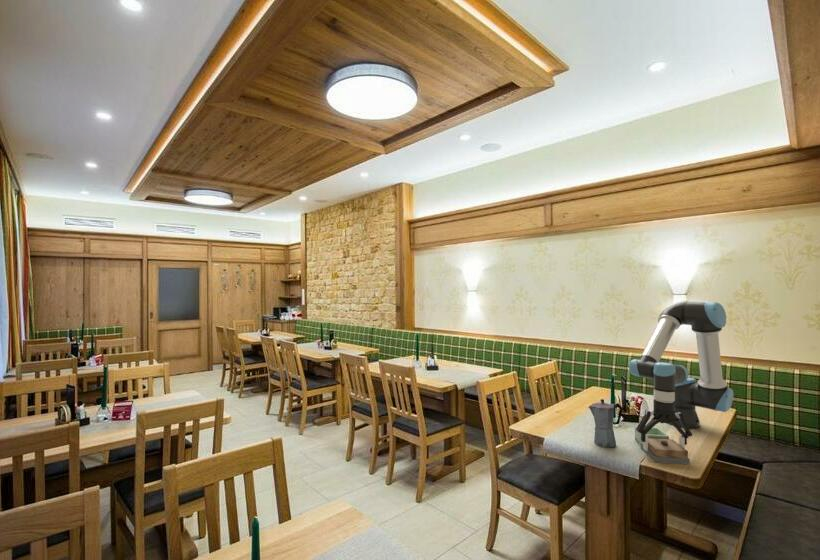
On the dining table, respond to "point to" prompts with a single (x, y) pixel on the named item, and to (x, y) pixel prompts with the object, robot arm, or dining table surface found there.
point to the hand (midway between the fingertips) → (663, 451)
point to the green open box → (651, 435)
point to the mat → (666, 458)
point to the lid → (666, 448)
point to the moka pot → (604, 423)
